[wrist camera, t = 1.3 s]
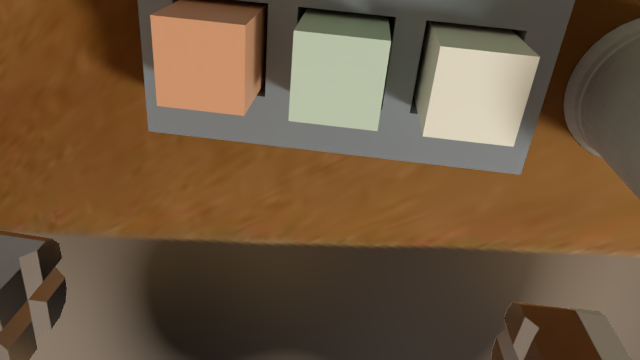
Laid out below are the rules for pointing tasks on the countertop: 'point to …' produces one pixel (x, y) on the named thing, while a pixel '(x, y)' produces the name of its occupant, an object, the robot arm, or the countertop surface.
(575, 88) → the grey black ceramic vase
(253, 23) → the key
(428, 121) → the key
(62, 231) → the countertop surface
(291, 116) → the key mid
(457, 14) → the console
